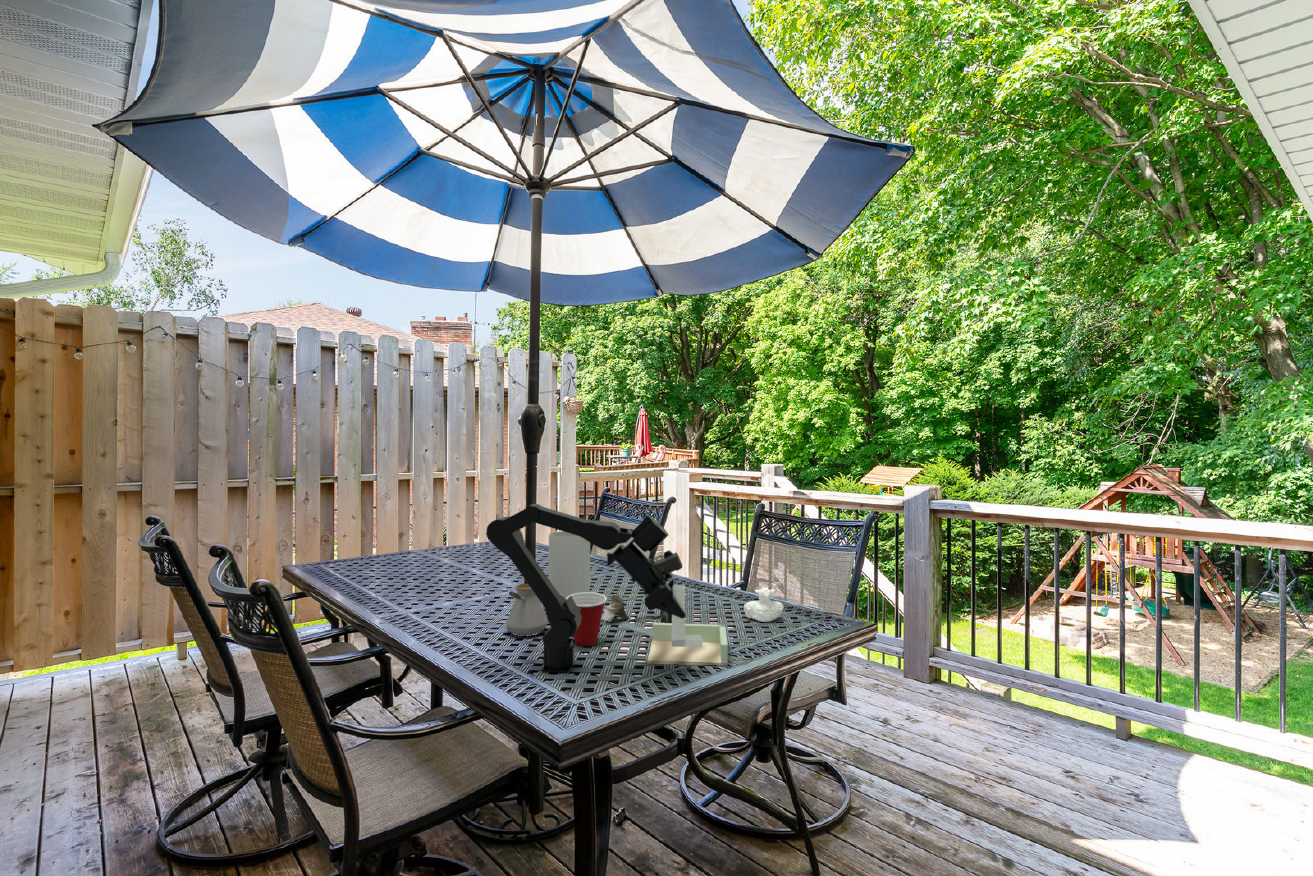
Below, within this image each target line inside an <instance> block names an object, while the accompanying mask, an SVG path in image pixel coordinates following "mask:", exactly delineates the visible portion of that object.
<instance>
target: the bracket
mask: <svg viewBox="0 0 1313 876" xmlns="http://www.w3.org/2000/svg"><path fill="white" fill-rule="evenodd" d="M673 597H674V598H675V600H676V601H677V603H678V604H679V605H680V607H681V608H682V610H683V611H684V613H685V614H686V611H685V609H686V585H675V584H674V585H673ZM685 624H686V616H685V617H684V618H683V619H682V618H680V617H677V616H675V615H672V647H702V635H685Z"/></svg>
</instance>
